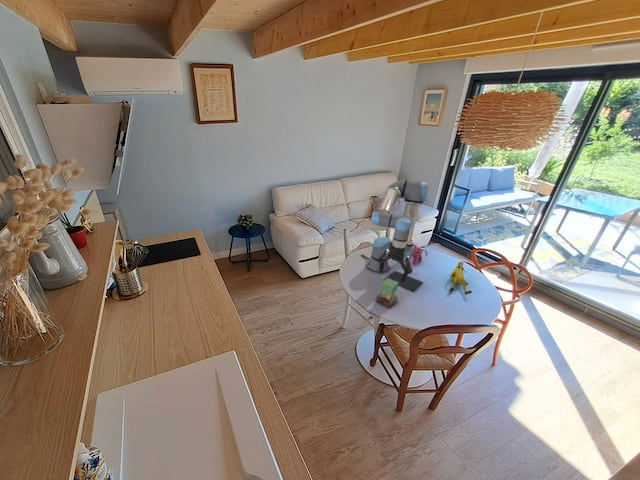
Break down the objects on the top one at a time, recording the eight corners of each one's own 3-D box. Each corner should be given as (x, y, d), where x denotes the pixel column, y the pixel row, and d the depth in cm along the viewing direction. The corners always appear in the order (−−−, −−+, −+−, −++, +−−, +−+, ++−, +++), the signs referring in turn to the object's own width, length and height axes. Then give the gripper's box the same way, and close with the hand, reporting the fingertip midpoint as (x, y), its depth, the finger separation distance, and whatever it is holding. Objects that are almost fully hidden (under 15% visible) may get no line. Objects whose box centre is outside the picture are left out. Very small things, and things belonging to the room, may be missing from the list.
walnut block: (376, 301, 178) (377, 296, 176) (383, 295, 183) (384, 290, 181) (389, 308, 172) (390, 302, 170) (396, 301, 178) (397, 296, 176)
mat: (385, 279, 198) (385, 278, 198) (394, 271, 207) (394, 270, 207) (413, 291, 186) (413, 290, 186) (422, 282, 195) (422, 282, 194)
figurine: (464, 282, 177) (462, 256, 199) (446, 288, 184) (446, 262, 206) (474, 295, 179) (471, 267, 200) (456, 300, 186) (455, 273, 208)
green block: (380, 290, 173) (382, 282, 170) (386, 285, 178) (387, 277, 175) (391, 295, 169) (393, 287, 166) (396, 290, 173) (398, 282, 170)
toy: (398, 251, 234) (406, 217, 219) (427, 264, 215) (438, 228, 200) (391, 254, 230) (399, 219, 215) (421, 268, 211) (431, 231, 196)
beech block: (381, 296, 176) (382, 290, 173) (385, 292, 179) (386, 287, 176) (389, 300, 173) (390, 294, 170) (393, 296, 176) (394, 290, 173)
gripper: (374, 240, 163) (369, 271, 174) (418, 255, 148) (409, 288, 158) (381, 236, 168) (375, 267, 178) (424, 251, 153) (415, 283, 163)
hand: (391, 277), depth 168 cm, fingers open, 13 cm apart
